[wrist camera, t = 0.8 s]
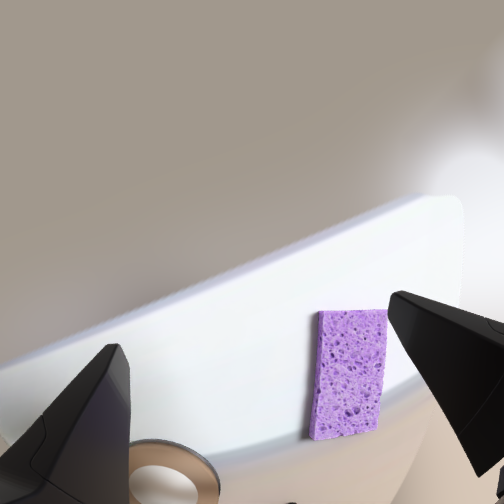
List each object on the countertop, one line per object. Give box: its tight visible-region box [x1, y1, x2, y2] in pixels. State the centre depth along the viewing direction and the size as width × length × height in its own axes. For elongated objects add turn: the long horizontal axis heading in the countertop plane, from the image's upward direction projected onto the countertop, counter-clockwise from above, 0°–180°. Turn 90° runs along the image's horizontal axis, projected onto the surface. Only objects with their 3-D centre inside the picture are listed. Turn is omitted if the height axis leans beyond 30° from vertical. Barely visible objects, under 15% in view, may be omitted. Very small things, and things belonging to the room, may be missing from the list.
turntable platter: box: [129, 442, 219, 504], centre depth 18 cm, size 10×10×2 cm
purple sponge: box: [309, 309, 388, 441], centre depth 24 cm, size 7×13×2 cm, turn 177°
